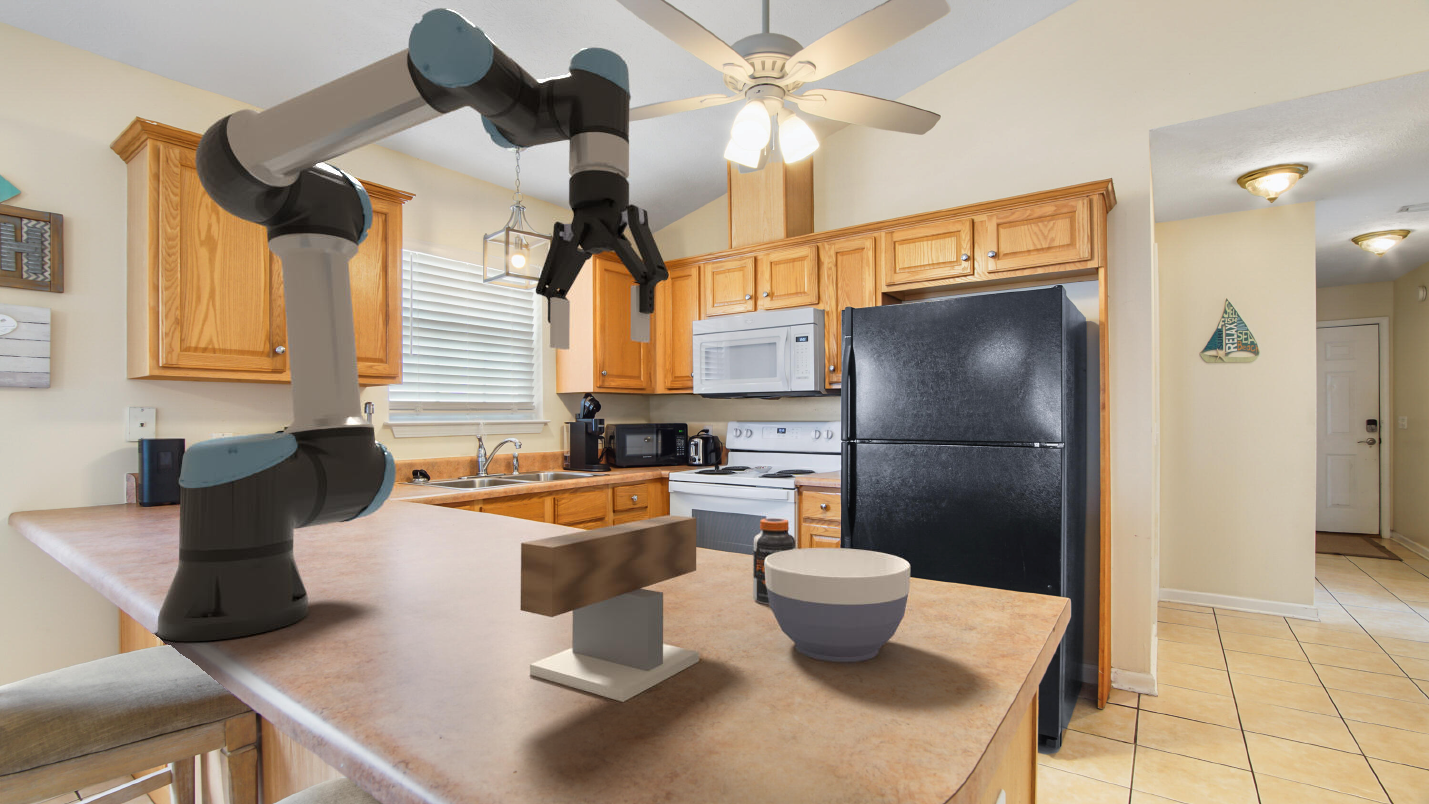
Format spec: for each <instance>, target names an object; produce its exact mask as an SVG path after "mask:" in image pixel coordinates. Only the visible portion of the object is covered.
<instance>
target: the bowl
mask: <svg viewBox="0 0 1429 804" xmlns="http://www.w3.org/2000/svg"><path fill="white" fill-rule="evenodd" d="M764 567H765V583H766V588H767V593H768V598H769V604H768V605H769V607H770V610H771V611H772V613H773V615H774V617H775V620H776V621H777V624H778V625H779V627H780V630H781V631H782V632H783V633H784V634H785V635H786V636H787V637H788V638H789V639H790V640H791V641H792V642H793V643H794V647H795V649H796V651H798V652H799V653H800V654H802V655H804V656H806V657H808V658H811V659H815V660H819V661H822V662H823V661H825V662H830V663H856V662H863V661H867V660H870V659H873V658H875V657H876V656H877V655H878V654H879V652H880V648H881V647H882V646H884V645H885V644H886V643H887V642H888V641H889V640H890V639H892V638H893V637H894V636H895V633H896V631H897V630H898V628H899V627H900V624H901V622H902V620H903V618H904V617H905V614H906V608H907V603H908V598H909V593H910V583H911V564H910V563H909V561H907V560H906V559H904V558H902V557H899V556H897V555H894V554H888V553H884V552H881V551H879V552H878V551H874V550H866V549H856V548H855V549H854V548H842V547H808V548H797V549H796V548H795V549H794V550H786V551H781V552H777V553H773V554H771V555H769V556H767V557H766V558H765V561H764Z"/></svg>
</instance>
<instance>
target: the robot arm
mask: <svg viewBox="0 0 1429 804" xmlns="http://www.w3.org/2000/svg"><path fill="white" fill-rule="evenodd" d="M569 62H570V63H569V67H568V74H567V75H560V76H558V77H557V76H556V77H549V78H546V79H536V78H534V77H533V76H532V75H531V73H529V72H528V71H526V70H525V69H524V68H523V67H522V66H521V65H519V63H518V62H516V61H515V60H513V58H512V57H510V56H509V55H508V54H507V53H505V52H504V51H503V49H501V48H500V47H499V46H498V45H497V44H495V42H494V41H493V40H491V39H490V38H489V36H488V35H487V34H486V33H485V32H484V31H483V30H482V29H481V28H480V27H478V26H477V25H475V24H474V23H472V22H471V21H469V20H468V19H466V17H464V16H462V15H461V14H460V13H458V12H456V11H455V10H452V9H450V8H443V7H439V8H438V7H437V8H434V9H433V8H432V9H431V10H429V11H427V12H425V13H424V14H422V18H421V20H420V21H419V22H415V24H414V25H413V26H412V28H411V30H410V33H409V38H408V47H407V48H405V49H402V50H400V51H397V52H395V53H394V54H391V55H389V56H386V57H384V58H382V59H379V60H377V61H375V62H373V63H371V64H370V63H369V64H368V65H366V66H364V67H361V68H359V69H356V70H353V71H352V72H350V73H349V72H348V74H345V75H343V76H341V77H337V78H336V79H333V80H331V81H329V82H326V83H324V84H323V85H320V86H318V87H315V88H313V89H310V90H309V91H306V92H303V93H301V94H299V95H297V96H294V97H292V98H290V99H288V100H285V101H284V102H281V103H278V104H275V105H274V106H271V107H269V108H267V109H265V110H263V111H258V110H254V109H247V108H246V109H241V110H238V111H234V113H232V114H228V115H226V116H224V117H223V118H222V117H221V119H218V120H217V121H216V122H215V123H213V124H212V125H211V126H209V127H208V129H207V130H206V131H205V132H204V133H203V134H202V136H201V137H200V140H199V142H198V144H197V148H196V152H195V168H196V172H197V177H198V179H199V182H200V184H201V186H202V188H203V189H204V190H205V193H207V195H208V196H209V198H210V199H211V200H212V201H213V202H214V203H216V205H217V206H218V207H220V208H221V209H222V210H223V211H226V212H227V213H228V214H230V215H232V216H233V217H234V216H235V217H237V218H239V219H241V220H244V221H247V222H250V223H253V224H256V225H259V226H263V227H265V228H266V237H267V247H268V250H270V252H272V253H273V254H274V255H275V256H277V257H278V258H279V259H280V260H281V272H282V282H283V283H282V284H283V295H284V307H285V308H284V309H285V311H284V312H285V322H286V333H287V347H288V358H289V361H288V362H289V372H290V373H289V374H290V384H291V385H290V386H291V398H292V413H293V421H292V423H291V424H290V425H289V426H288V427H287V428H286V429H285V430H283V432H275V433H274V432H271V433H257V434H248V435H247V434H246V435H244V434H243V435H234V436H226V437H218V438H213V439H206V440H202V441H199V442H195V443H193V444H192V445H190V446H189V447H188V448H187V449H186V450H185V451H184V453H183V455H182V462H181V463H182V464H181V468H180V476H179V477H178V484H179V486H180V495H179V496H180V497H179V499H180V501H179V502H180V503H179V506H180V507H179V535H178V537H179V539H178V542H179V543H178V548H179V549H178V566H177V570H176V572H175V575H174V576H173V579H172V582H171V584H170V586H169V589H168V591H167V594H166V596H165V599H163V600H164V601H163V603H162V605H161V608H160V610H159V613H158V616H157V617H158V618H157V636H158V637H159V638H161V639H164V640H167V641H175V642H202V641H203V642H205V641H216V640H225V639H234V638H240V637H247V636H252V635H256V634H261V633H264V632H265V633H266V632H271V631H273V630H277V629H281V628H283V627H287V626H289V625H292V624H294V623H297V622H299V621H301V620H303V619H304V618H305V617H307V615H308V614H309V609H308V608H309V597H308V596H309V595H308V592H307V590H306V588H305V584H304V582H303V578H302V576H301V573H300V570H299V567H298V566H297V562H296V560H295V557H294V537H295V535H294V533H295V530H296V529H302V528H309V527H315V526H322V525H328V524H335V523H345V522H350V521H354V520H356V519H360V518H364V517H365V518H366V517H367V516H370V515H372V514H374V513H375V512H377V511H378V510H379V509H380V508H381V507H382V506H383V505H384V503H385V501H387V500H388V499H389V498H390V495H391V494H392V491H393V490H394V489H393V488H394V486H395V482H396V474H397V473H396V470H397V469H396V462H395V459H394V457H393V454H392V453H391V451H388V448H387V446H385V445H384V444H383V443H381V442H378V441H377V440H376V436H375V426H374V425H373V424H372V423H370V422H369V421H368V420H367V419H365V417H364V416H363V415H362V405H361V394H360V383H359V382H360V381H359V372H358V371H359V370H358V361H357V358H358V357H357V349H356V347H357V345H356V336H355V335H356V334H355V326H354V324H355V322H354V313H353V302H352V288H351V278H350V277H351V276H350V265H349V262H350V260H351V259H353V258H354V257H355V256H357V254H359V245H361V244H362V243H363V242H364V241H366V239H367V237H368V236H369V233H368V232H367V231H368V230H370V229H372V225H373V217H374V215H373V214H374V213H373V206H372V202H371V198H370V196H369V194H368V192H367V190H366V188H365V187H364V186H363V185H362V183H361V182H360V181H358V180H357V179H356V178H355V177H353V176H352V175H350V174H348V173H346V172H344V171H343V170H341V168H338V167H337V166H335V165H332V164H329V163H326V162H327V161H330V160H332V159H335V158H337V157H340V156H343V155H346V154H349V153H350V152H352V151H356V150H358V149H360V148H363V147H365V146H368V145H370V144H373V143H376V142H378V141H380V140H384V139H386V138H388V137H391V136H393V135H396V134H398V133H401V132H403V131H405V130H408V129H409V130H410V129H412V128H413V127H416V126H418V125H422V124H425V123H426V122H429V121H432V120H434V119H436V118H439V117H442V116H445V115H446V114H449V113H452V112H455V111H457V110H460V109H462V108H463V109H464V108H465V107H469V108H471V109H473V110H474V111H476V112H477V113H478V114H480V119H481V123H482V126H483V128H484V130H485V132H486V133H487V135H488V134H489V136H490V139H491V141H492V142H493V143H494V144H496V145H497V146H499V148H503V149H514V148H515V149H517V148H520V149H524V148H525V149H528V148H531V147H534V146H539V145H540V146H541V145H547V144H552V143H556V142H558V143H559V142H564V141H569V151H568V152H569V157H568V158H569V160H568V161H569V162H568V172H569V175H570V176H571V177H569V180H568V204H569V206H570V208H571V211H572V213H573V215H572V221H571V223H563V222H560V221H556V222H554V224H553V225H554V226H553V232H552V241H551V244H550V246H549V250H548V251H547V255H546V258H545V262H544V264H543V267H542V269H541V273H540V276H539V279H538V280H537V281H538V282H537V284H536V288H535V293H536V295H539V296H543V297H545V298H546V300H547V322H548V324H549V337H550V338H549V348H551V349H558V350H559V349H560V350H570V320H571V319H570V318H571V317H570V313H571V311H570V310H571V309H570V308H571V306H570V305H571V304H570V303H571V302H570V300H569V299H568V298H567V297H566V296H567V295H568V293H569V291H570V290H571V288H572V286H573V285H574V282H575V281H576V279H577V277H578V276H579V274H580V272H581V270H582V269H583V267H584V265H585V263H587V262H586V261H587V260H590V259H592V257H593V255H600V254H602V253H603V252H614V253H615V254H616V256H617V257H618V258H619V260H620V262H621V263H622V264H623V266H624V267H625V268H626V269H627V271H628V272H629V274H630V275H631V276H632V278H633V279H634V281H633V283H634V284H636V285H631V286H630V341H634V342H638V343H639V342H640V343H651V314H654V312H655V288H656V286H657V285H658V284H659V283H660V282H662V281H667V280H668V279H669V277H670V276H669V275H670V274H669V271H668V268H667V267H666V264H665V262H664V260H663V257H662V255H661V253H660V250H659V247H658V245H657V243H656V240H655V238H654V236H653V233H652V232H651V229H650V227H649V216H648V211H647V210H646V209H643V208H641V207H639V206H638V205H637V206H636V205H635V204H630V183H629V180H628V178H629V176H630V139H629V138H630V135H629V132H630V101H631V99H632V98H631V97H632V96H631V92H630V78H629V77H630V75H629V67H628V64H627V63H626V61H625V60H624V59H623V58H622V57H621V56H620V55H619V54H618V53H616V52H615V51H612V50H610V49H607V48H602V47H586V48H581V49H580V50H578V51H577V52H576V53H574V54H573V55H572V56H571V58H570V61H569ZM627 227H629V231H630V233H631V236H632V238H633V240H634V242H635V245H636V247H637V249H638V253H639V255H640V256H639V255H638V253H637V252H636V251H635V249H634V248H633V247H632V242H631V241H630V240H629V239H628V237H627V236H626V235H625V234H624V232H625V230H626V228H627Z"/></svg>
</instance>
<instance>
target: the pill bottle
mask: <svg viewBox="0 0 1429 804" xmlns="http://www.w3.org/2000/svg"><path fill="white" fill-rule="evenodd" d="M759 529H760V532H759V533H758V534H756V535H755V536H754V538H753V554H752V555H753V556H752V557H753V558H752V559H753V560H752V561H753V564H752V567H753V570H752V571H753V573H752V574H753V575H752V576H753V578H752V579H753V580H752V581H753V582H752V585H753V586H752V587H753V588H752V596H753V597H752V598H753V600H754V601H756V602H757V603H760V604H764V605H770V604H769V598H768V593H767V588H766V583H765V567H764V561H765V558H766V557H767V556H769V555H771V554H773V553H777V552H781V551H786V550H794V549H796V539H795V537H794V535H792V534H790V533H789V529H790V527H789V520H787V519H785V518H784V519H783V518H776V517H775V518H773V517H772V518H771V517H769V518H763V519H762V518H761V519H760V522H759Z"/></svg>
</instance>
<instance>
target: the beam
mask: <svg viewBox="0 0 1429 804" xmlns="http://www.w3.org/2000/svg"><path fill="white" fill-rule="evenodd" d="M693 572H697V517H691V516H681V515H670V514H668V515H663V516H657V517H651V518H648V519H647V518H645V519H641V520H636V521H631V522H625V523H619V524H616V525H615V524H614V525H609V526H605V527H604V526H603V527H598V528H594V529H589V530H583V531H578V532H572V533H568V534H563V535H555V536H551V537H546V538H541V539H535V540H531V541H530V540H529V541H525V542H521V544H520V609H519V610H520V611H522V612H525V613H526V612H527V613H531V614H537V615H540V616H544V617H549V618H554V617H557V616H560V615H563V614H567V613H569V612H573V610H576V609H579V608H582V607H585V606H588V605H591V604H594V603H597V602H601V601H604V600H607V599H610V598H613V597H616V596H619V595H622V594H625V593H628V592H631V591H635V590H638V589H644V588H647V587H649V586H650V587H651V586H652V585H656V584H659V583H662V582H665V581H668V580H671V579H675V578H677V577H680V576H683V575H686V574H690V573H693Z"/></svg>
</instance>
